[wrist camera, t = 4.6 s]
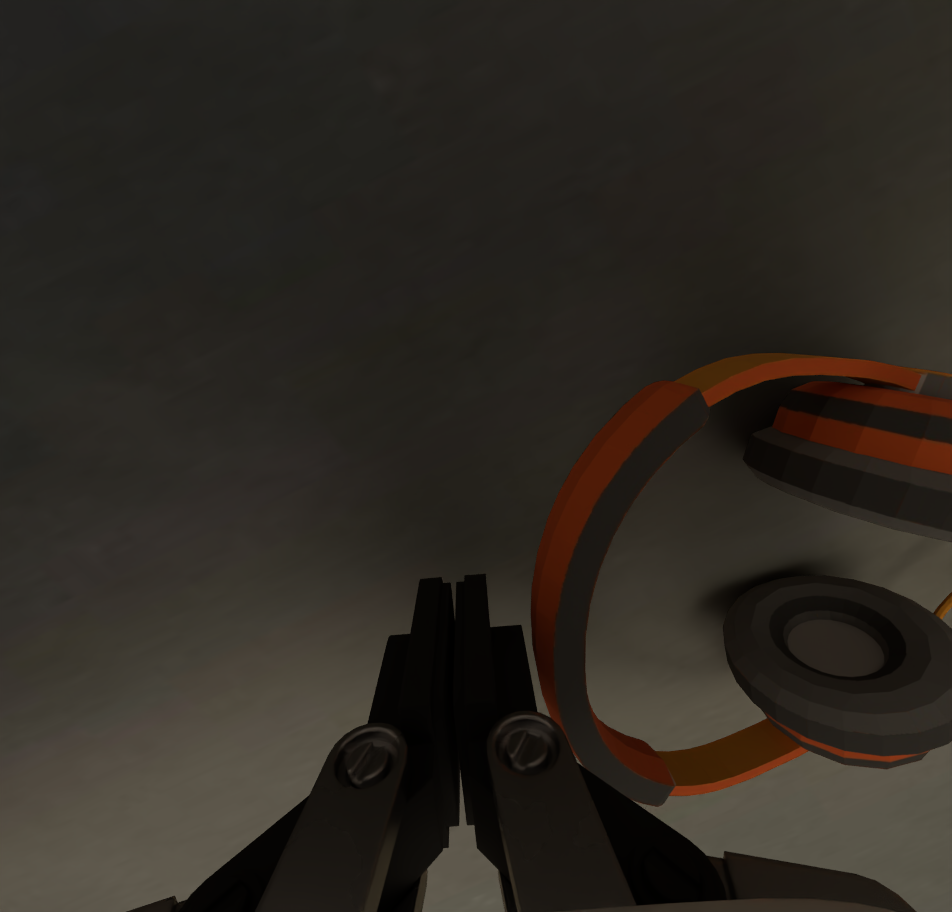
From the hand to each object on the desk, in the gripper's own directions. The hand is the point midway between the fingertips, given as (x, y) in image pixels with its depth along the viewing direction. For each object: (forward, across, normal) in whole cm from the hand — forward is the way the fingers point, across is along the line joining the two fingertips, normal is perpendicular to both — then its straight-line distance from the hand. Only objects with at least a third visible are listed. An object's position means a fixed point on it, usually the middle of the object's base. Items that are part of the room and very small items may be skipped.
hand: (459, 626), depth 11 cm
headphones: (+3, -12, -1) cm, 12 cm away
